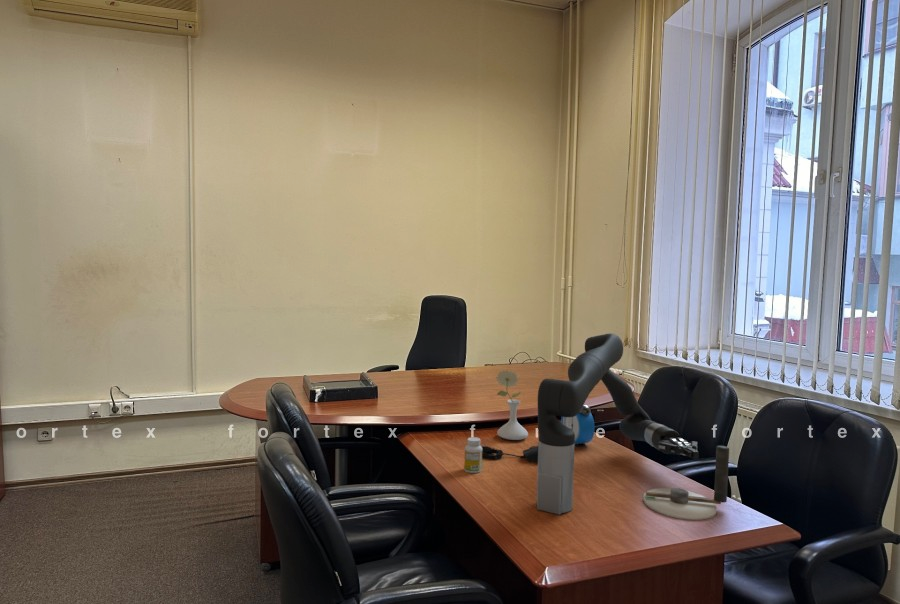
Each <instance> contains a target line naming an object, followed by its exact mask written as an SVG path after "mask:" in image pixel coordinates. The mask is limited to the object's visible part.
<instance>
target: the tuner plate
mask: <svg viewBox="0 0 900 604" xmlns="http://www.w3.org/2000/svg"><path fill="white" fill-rule="evenodd" d="M672 488H673V487H672ZM672 488H671V487H670V488H669V487H664V488H663V487H659V488H652V489H649V490H647V492H656V493H665V494H671V489H672ZM687 491H688V490H687ZM688 492H689V495H688V496H695V497H705V498H707V497H706V496H704V495H702V494H699V493H696V492H692V491H688ZM642 499H643V501H642V502H643V504H644V505H645V506H646V507H648V508H649V509H651V510H652V511H654V512H656V513H659V514H661V515H663V516H667V517H670V518H675V519H681V520H687V521H688V520H689V521H700V520H701V521H702V520H708V519H712V518H713V517H715V516H716V514H717V510H718V509H717V505H716V504H714V503H705V502H696V501H688V503H685V504H681V503H676V502H673V501H672V500H671V499H670V498H662V497H653V496H646V491H645V492H644V493H643V497H642Z"/></svg>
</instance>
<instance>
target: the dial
mask: <svg viewBox="0 0 900 604" xmlns="http://www.w3.org/2000/svg"><path fill="white" fill-rule="evenodd" d="M715 449H716V450H715V468H714V469H715V471H714V472H715V473H714V488H713V489H714V493H713V497H706V496H704V497H695V496H688V495H689V492H690V491H689V492H688V490H686V489H684V488H680V487H679V488H678V487H674V488H673V487H672V489H671V494H665V493H656V492H647V491H648V490H647V491H645V492H646V496H653V497H662V498H670V499H671V500H672V501H673V502H676V503H681V504H685V503H688V501H696V502H705V503H714V504H715V505H716V504H717V505H722V503H727V502H728V501H727V498H728V479H729V460H730V459H729V458H730V447H728V446H725V445H716V448H715ZM705 497H706V498H705Z"/></svg>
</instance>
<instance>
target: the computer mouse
mask: <svg viewBox="0 0 900 604" xmlns="http://www.w3.org/2000/svg"><path fill="white" fill-rule="evenodd" d="M480 446H481V447H482V459H486V460H493V461H494V460H495V461H496V460H501V459H502V458H503V456H505V455H506V456H512V457H515V458H519V459H526V460H527V461H528V463H533V462H535V463H534V464H538V445H537V446H536V445H535V446H530V447H529V448H527V449H524V450H522V454H523V455H515V454H511V453H504V452H503V450H501V449H497V448H492V447H491V446H487V445H480Z"/></svg>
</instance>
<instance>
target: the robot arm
mask: <svg viewBox="0 0 900 604" xmlns="http://www.w3.org/2000/svg"><path fill="white" fill-rule="evenodd" d="M623 354H624V343H623V340H622V339H621V338H620V337H619V335H618V334H616V333H605V334H599V335H595V336H591V337H588V338H587V339H586V340H585V342H584V352H583V353H581V354H579V355H578V356H577V357H575V359H574V360H573V361H572V362H571V363H570V365H569V366H568V368H567V369H568V370H567V378H568V380H565V379H564V380H563V379H556V378H544V379H542V380H541V382H540V383H539V386H538V390H537V433H538V445H537V446H538V463H537V476H536V477H537V479H536V506H537V507H536V509H537V510H539V511H543V512H547V513H552V514H556V515H561V514H563V513H568V512H570V511H571V510H573V500H574V499H573V498H574V470H575V469H574V466H575V463H574V462H575V447H576V446H575V445H576V444H575V434H574V432H573V430H571V429H570V428H568V427H566V426H565V425H563V424H562V423H561V422H560V420H559V419H558V418H557V417H561V418H562V417H574V416H576V415H577V414H578V413H579V412H580V410H581V408H582V407H583V405H584V404H585V402H586V401H587V399H588V397H589V395H590V394H591V392H592V391H593V390H594V388H595V387H596V386H597V385H598V384H599V382H600V381H602V383H603V385H604V386H605V387H606V389H607V391H608V392H609V394H610V396H611V399H612V401H613V403H614V406H615V407H616V410H617V412H618V413H619V414H620V415H621V416H626V417H624V418H623V419H622V420H620V422H619V430H620V432H621V434H622V435H623V436H624V437H626V438H627V439H629V440H633V441H641V442H646V443H647V444H649V445H650V446H651V447H654V448H655V449H656V450H658V452H662V453H664V454H667V455H671V454H672V455H675V456H679V455H682V456H686V457H688V458H691V460H698V459H699V455H700V452H699V451H698V441H696V440H695V441H694V440H693V441H690V442H688V440H687V439H683V438H682V437H681V435H680V434H679V432H678V431H677V430H674V429H673V428H671V427H668V426H666V425H664V424H661V423H658V422H656V421H653V420H652V419H651V417H650V416H649V414H648V413H647V412H646V411H645V410H644V409H643V408H642V407H641V405H640V403H638V400H637V397H636V396H635V393H634V391H633V389H632V388H631V386H630V384H628V383H627V381H626V380H625V379H623V378H622V377H620V376H619V375H618V374H616V373H615V372H614V371H612V370H611V368H612V367H613V366H615V364H617V363H618V362H619V361H620V360H621V359H622V357H623Z"/></svg>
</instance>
